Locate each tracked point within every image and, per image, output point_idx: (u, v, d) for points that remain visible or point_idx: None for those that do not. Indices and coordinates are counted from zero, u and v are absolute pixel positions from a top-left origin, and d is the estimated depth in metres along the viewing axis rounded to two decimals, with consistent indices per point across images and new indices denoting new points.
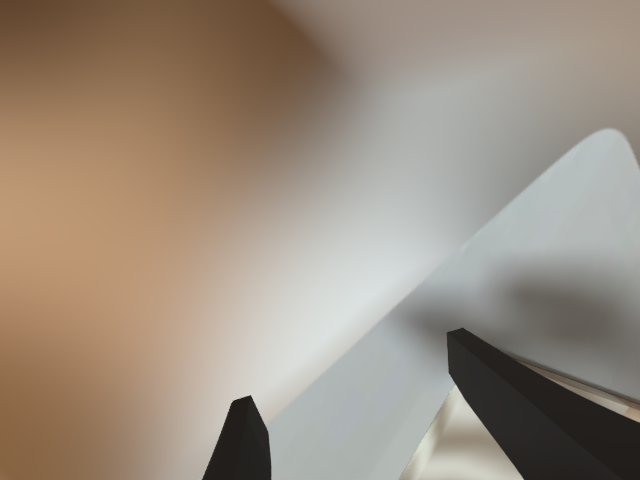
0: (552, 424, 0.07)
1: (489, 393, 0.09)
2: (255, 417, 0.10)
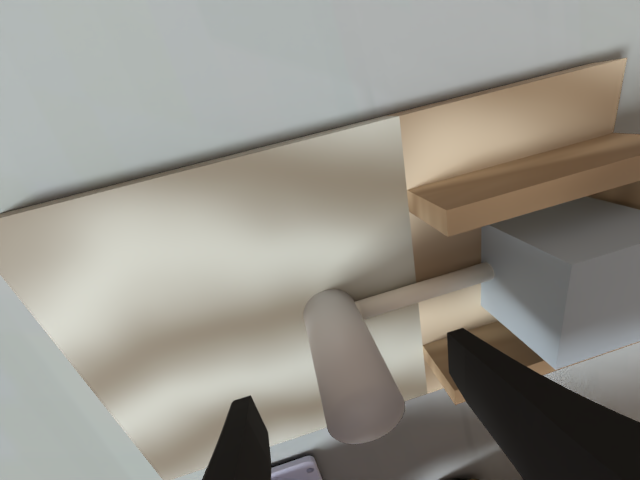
0: (552, 424, 0.07)
1: (489, 393, 0.09)
2: (255, 417, 0.10)
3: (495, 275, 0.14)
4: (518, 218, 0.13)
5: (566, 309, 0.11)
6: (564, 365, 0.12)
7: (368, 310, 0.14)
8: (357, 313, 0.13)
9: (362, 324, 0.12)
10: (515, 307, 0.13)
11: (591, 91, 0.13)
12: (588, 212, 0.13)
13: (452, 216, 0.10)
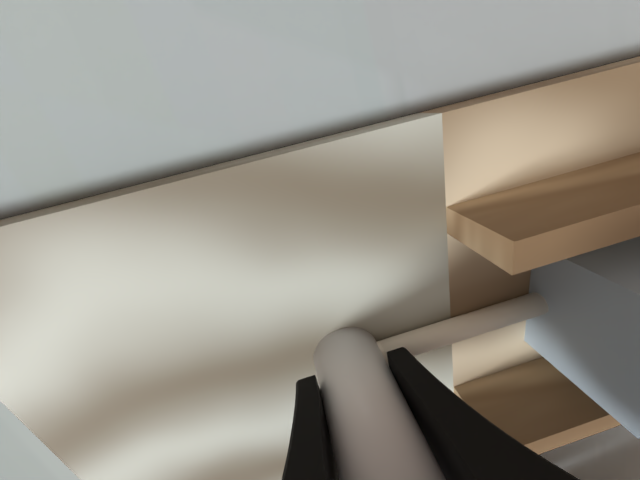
0: (459, 457, 0.06)
1: (419, 417, 0.09)
2: (320, 395, 0.10)
3: (550, 310, 0.11)
4: None
5: None
6: None
7: None
8: (382, 362, 0.10)
9: (391, 381, 0.09)
10: (579, 352, 0.11)
11: None
12: None
13: (521, 249, 0.07)
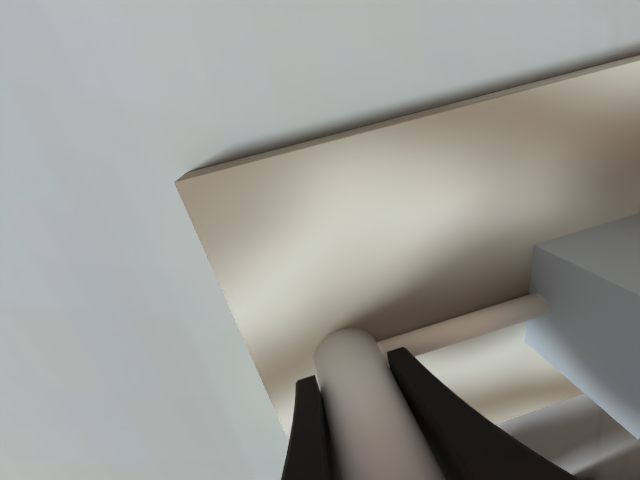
0: (460, 457, 0.06)
1: (419, 417, 0.09)
2: (320, 396, 0.10)
3: (550, 311, 0.11)
4: (581, 242, 0.11)
5: None
6: None
7: None
8: (383, 363, 0.10)
9: (391, 382, 0.09)
10: (579, 353, 0.11)
11: None
12: None
13: None
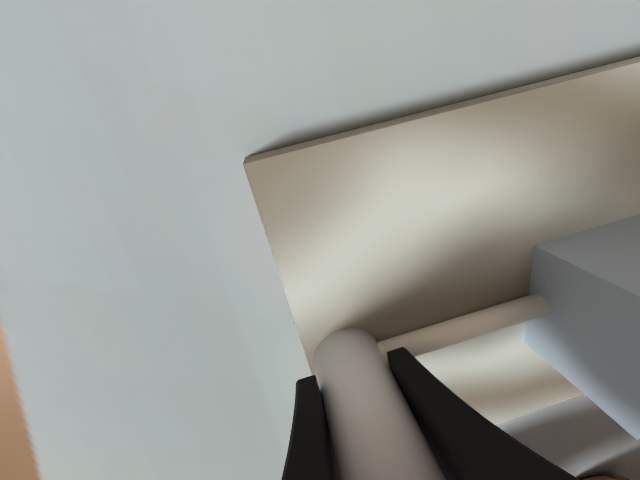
0: (460, 457, 0.06)
1: (419, 417, 0.09)
2: (320, 395, 0.10)
3: (550, 311, 0.11)
4: (582, 243, 0.11)
5: None
6: None
7: None
8: (383, 363, 0.10)
9: (391, 382, 0.09)
10: (578, 354, 0.11)
11: None
12: None
13: None
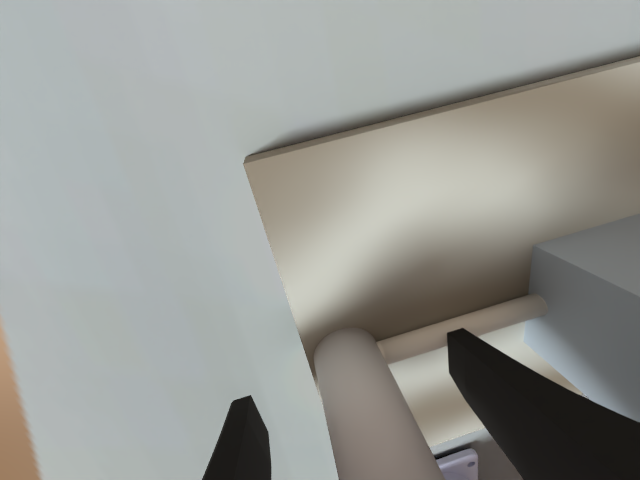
0: (552, 424, 0.07)
1: (489, 393, 0.09)
2: (255, 417, 0.10)
3: (549, 311, 0.11)
4: (581, 243, 0.11)
5: None
6: None
7: (394, 354, 0.11)
8: (382, 362, 0.10)
9: (390, 381, 0.09)
10: (578, 353, 0.11)
11: None
12: None
13: None
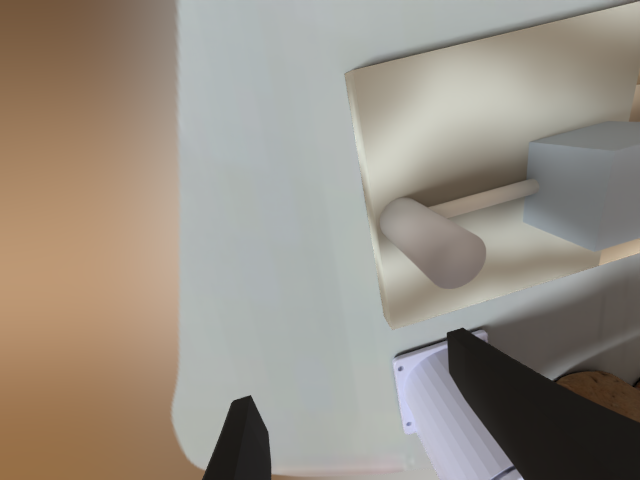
0: (552, 424, 0.07)
1: (489, 393, 0.09)
2: (255, 416, 0.10)
3: (540, 187, 0.17)
4: (561, 137, 0.16)
5: (607, 193, 0.14)
6: (601, 248, 0.15)
7: (436, 213, 0.17)
8: None
9: None
10: (559, 209, 0.16)
11: None
12: (620, 128, 0.15)
13: None
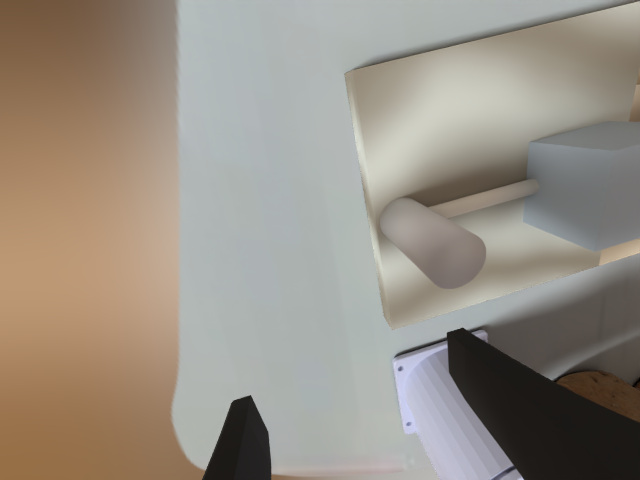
0: (552, 424, 0.07)
1: (489, 393, 0.09)
2: (255, 416, 0.10)
3: (540, 187, 0.17)
4: (561, 137, 0.16)
5: (607, 193, 0.14)
6: (601, 248, 0.15)
7: (436, 213, 0.17)
8: None
9: None
10: (559, 209, 0.16)
11: None
12: (620, 128, 0.15)
13: None
